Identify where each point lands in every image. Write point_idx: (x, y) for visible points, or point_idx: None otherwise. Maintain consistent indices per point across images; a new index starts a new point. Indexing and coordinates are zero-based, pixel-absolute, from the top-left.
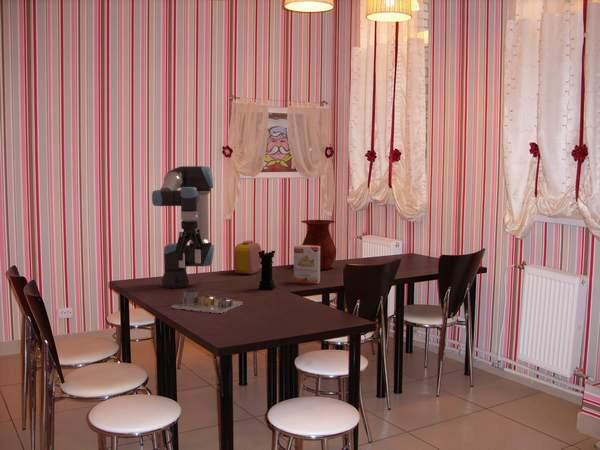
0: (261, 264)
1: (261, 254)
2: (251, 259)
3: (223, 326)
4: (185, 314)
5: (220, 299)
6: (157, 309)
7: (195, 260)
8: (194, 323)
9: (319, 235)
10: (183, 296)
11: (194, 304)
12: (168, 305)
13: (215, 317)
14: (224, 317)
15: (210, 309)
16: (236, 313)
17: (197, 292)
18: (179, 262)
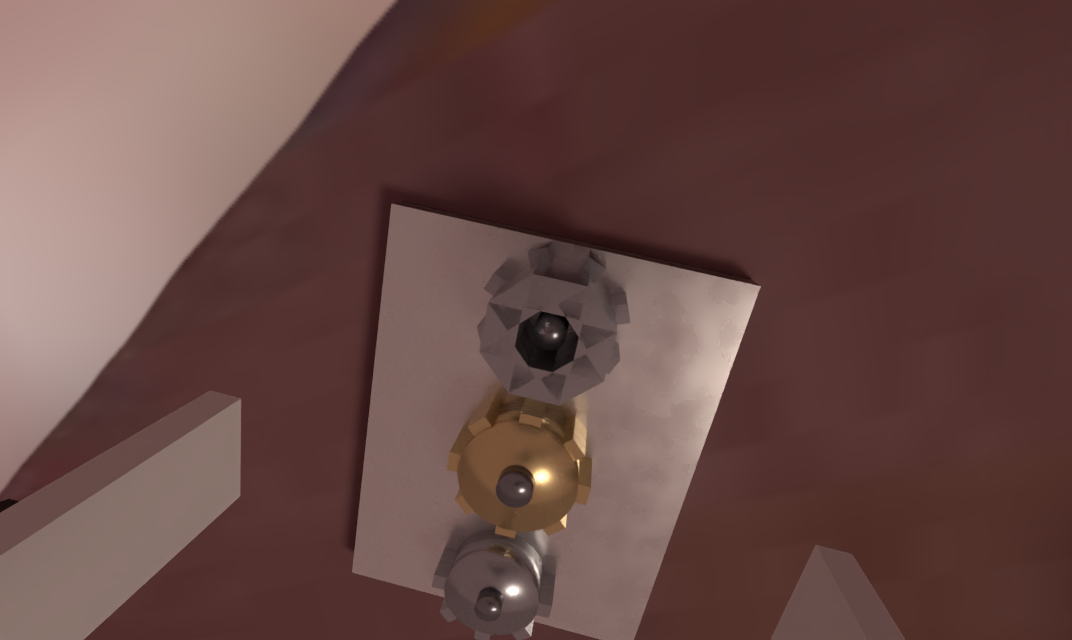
0: None
1: None
2: None
3: (134, 613)
4: (274, 364)
5: (495, 570)
6: (338, 94)
7: (837, 603)
8: None
9: None
10: (547, 256)
11: (467, 371)
12: (498, 123)
13: (275, 546)
14: (292, 587)
15: (359, 510)
16: (398, 628)
17: (558, 400)
18: (117, 460)
